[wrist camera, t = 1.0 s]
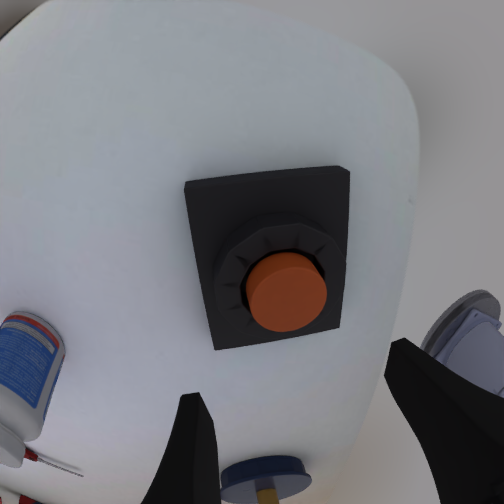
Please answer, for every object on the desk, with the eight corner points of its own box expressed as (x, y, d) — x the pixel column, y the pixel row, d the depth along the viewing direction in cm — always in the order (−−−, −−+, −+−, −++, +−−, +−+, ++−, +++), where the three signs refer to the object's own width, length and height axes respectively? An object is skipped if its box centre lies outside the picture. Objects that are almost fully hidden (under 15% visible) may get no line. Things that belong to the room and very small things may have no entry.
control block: (332, 315, 20) (349, 344, 18) (213, 335, 19) (216, 370, 17) (338, 165, 16) (365, 179, 13) (185, 181, 15) (181, 198, 12)
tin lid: (327, 464, 29) (337, 493, 26) (281, 496, 33) (287, 521, 30) (240, 465, 26) (247, 501, 22) (205, 496, 30) (208, 524, 26)
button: (315, 306, 16) (325, 324, 15) (248, 318, 16) (253, 338, 15) (317, 246, 15) (329, 261, 13) (242, 257, 14) (246, 274, 13)
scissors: (-13, 423, 22) (-15, 429, 21) (86, 467, 27) (85, 474, 26) (-9, 438, 24) (-11, 444, 23) (81, 478, 29) (80, 484, 28)
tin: (317, 455, 31) (323, 470, 29) (277, 485, 35) (280, 499, 32) (240, 453, 28) (244, 472, 26) (209, 483, 31) (211, 499, 29)
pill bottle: (-5, 306, 16) (-65, 408, 7) (54, 311, 17) (0, 434, 8) (20, 361, 18) (-18, 460, 10) (75, 368, 19) (47, 481, 11)
